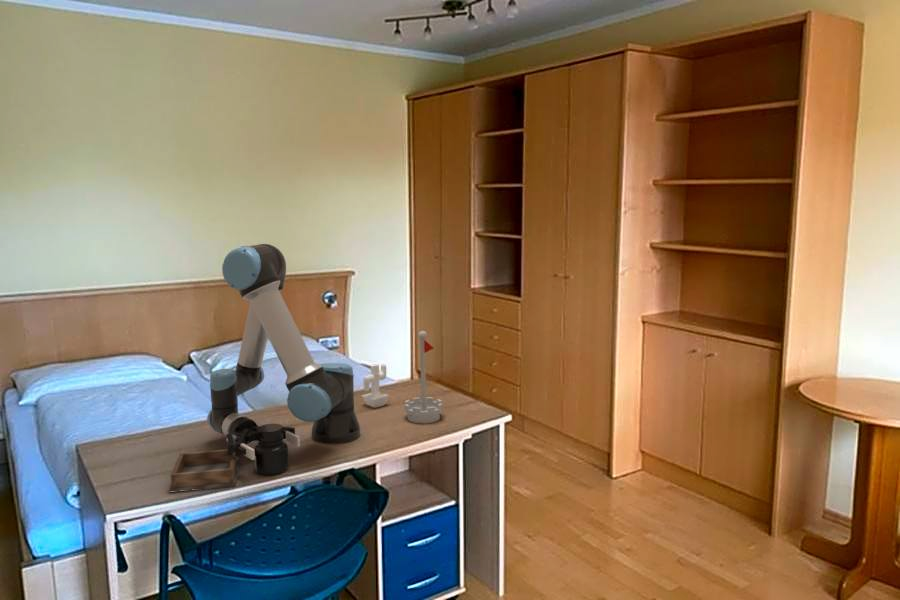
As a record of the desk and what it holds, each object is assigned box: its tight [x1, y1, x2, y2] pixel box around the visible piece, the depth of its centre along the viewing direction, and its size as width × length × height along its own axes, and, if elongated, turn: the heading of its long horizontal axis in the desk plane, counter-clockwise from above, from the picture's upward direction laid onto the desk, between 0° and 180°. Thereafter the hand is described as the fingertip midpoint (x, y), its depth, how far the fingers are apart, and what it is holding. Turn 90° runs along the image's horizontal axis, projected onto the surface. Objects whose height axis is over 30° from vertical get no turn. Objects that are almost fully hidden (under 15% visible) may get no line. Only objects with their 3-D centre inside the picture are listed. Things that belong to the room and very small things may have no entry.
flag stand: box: [403, 330, 444, 424], centre depth 223 cm, size 13×13×30 cm
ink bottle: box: [253, 423, 289, 476], centre depth 183 cm, size 10×9×12 cm
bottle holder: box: [169, 448, 241, 492], centre depth 178 cm, size 16×16×4 cm
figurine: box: [361, 363, 390, 408], centre depth 239 cm, size 7×9×15 cm
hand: (276, 448), depth 180 cm, fingers open, 13 cm apart
